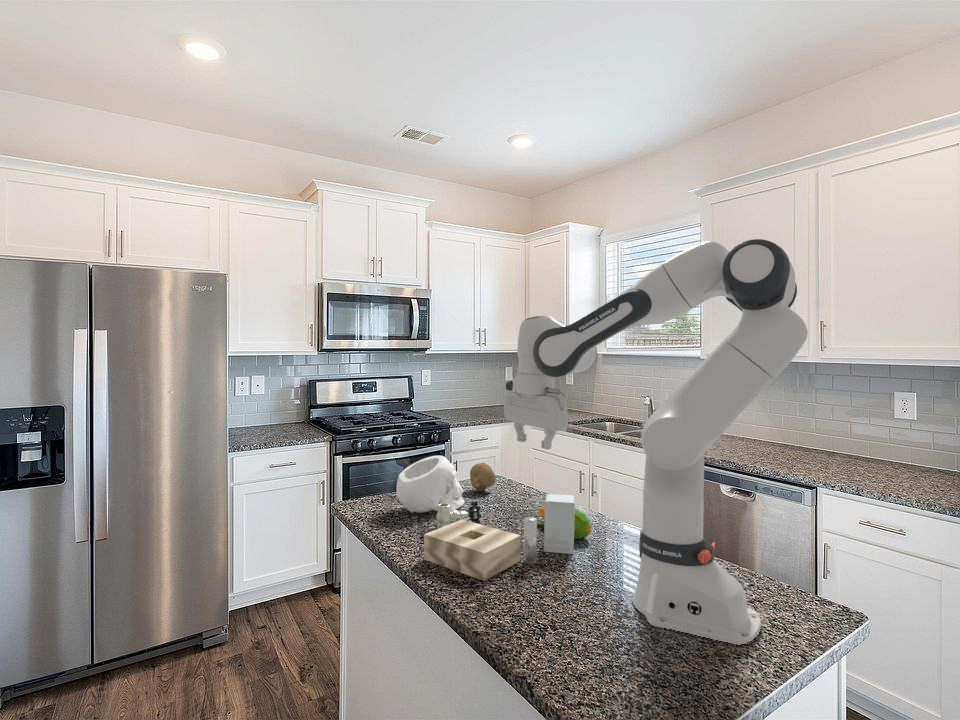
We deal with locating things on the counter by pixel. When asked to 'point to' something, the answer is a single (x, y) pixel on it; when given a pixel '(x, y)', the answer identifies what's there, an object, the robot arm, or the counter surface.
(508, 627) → the counter surface
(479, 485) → the potato
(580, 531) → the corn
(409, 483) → the skull planter
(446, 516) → the valve
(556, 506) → the supplement box
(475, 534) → the hole block
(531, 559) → the steel peg
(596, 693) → the counter surface
